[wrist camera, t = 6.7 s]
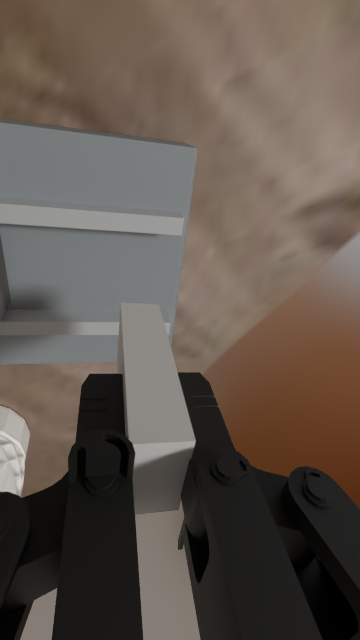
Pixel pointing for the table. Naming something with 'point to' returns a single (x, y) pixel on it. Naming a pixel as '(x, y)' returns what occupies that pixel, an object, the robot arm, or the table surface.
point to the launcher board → (87, 237)
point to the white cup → (12, 450)
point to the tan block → (3, 285)
